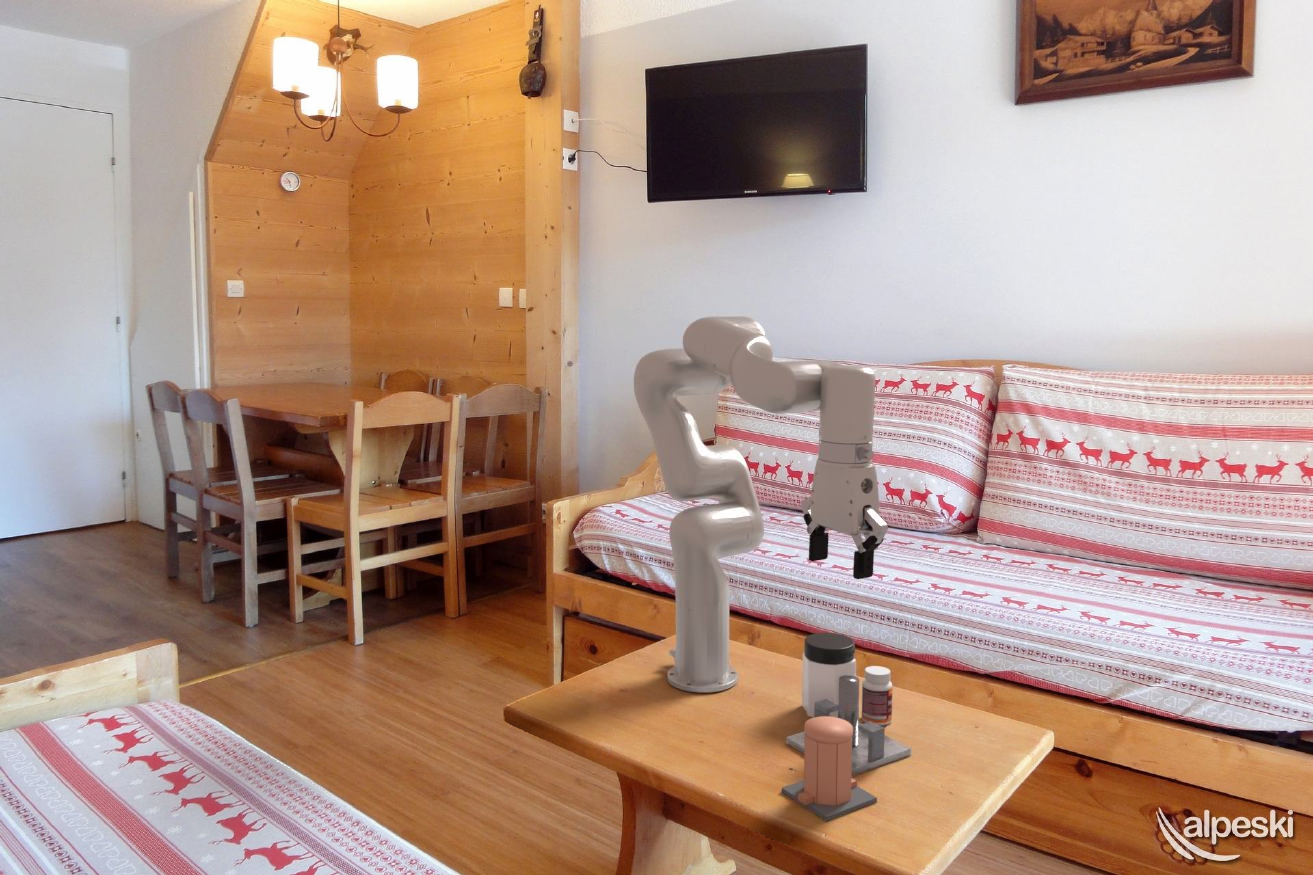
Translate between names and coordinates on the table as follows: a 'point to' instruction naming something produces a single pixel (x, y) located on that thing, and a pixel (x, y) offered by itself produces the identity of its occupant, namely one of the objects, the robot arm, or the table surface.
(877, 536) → the robot arm
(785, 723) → the table surface
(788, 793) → the coaster
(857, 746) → the pegged base plate
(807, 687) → the jar
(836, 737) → the salmon domed faceted piece
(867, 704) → the pill bottle
